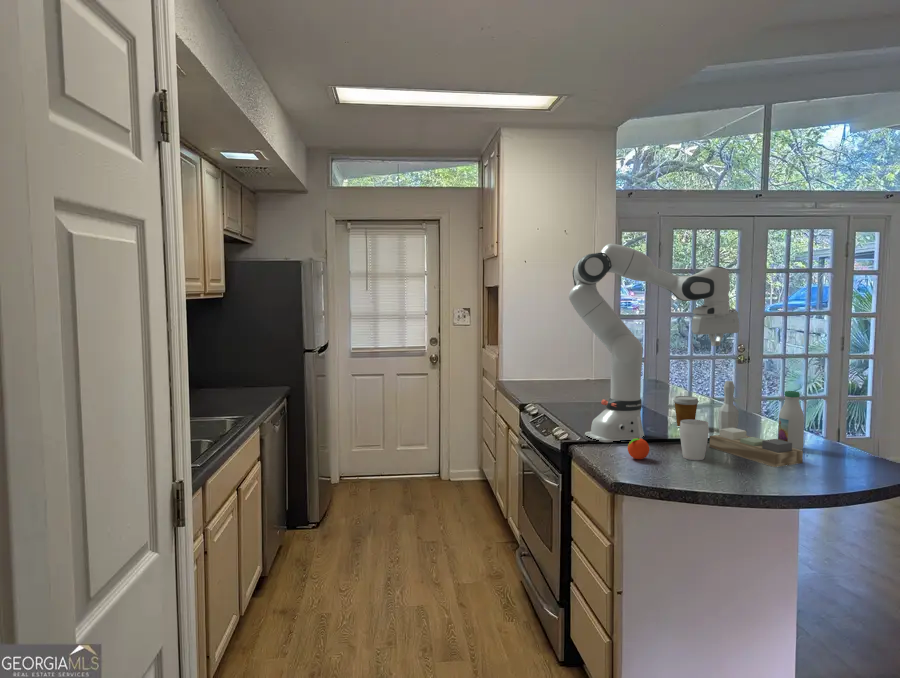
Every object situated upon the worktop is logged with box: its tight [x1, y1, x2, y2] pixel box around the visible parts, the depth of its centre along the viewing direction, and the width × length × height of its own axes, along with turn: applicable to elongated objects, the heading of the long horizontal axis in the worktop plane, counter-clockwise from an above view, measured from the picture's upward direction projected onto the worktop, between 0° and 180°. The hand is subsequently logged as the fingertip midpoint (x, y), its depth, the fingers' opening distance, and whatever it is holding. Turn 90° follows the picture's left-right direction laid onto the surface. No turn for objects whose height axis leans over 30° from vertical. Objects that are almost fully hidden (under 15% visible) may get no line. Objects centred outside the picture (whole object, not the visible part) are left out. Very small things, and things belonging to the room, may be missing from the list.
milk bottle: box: [777, 390, 805, 451], centre depth 214 cm, size 8×8×20 cm
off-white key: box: [719, 428, 748, 440], centre depth 215 cm, size 6×6×4 cm
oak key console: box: [709, 434, 804, 468], centre depth 207 cm, size 12×27×4 cm, turn 21°
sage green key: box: [740, 436, 764, 446], centre depth 207 cm, size 6×6×4 cm
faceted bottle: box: [717, 380, 740, 431], centre depth 225 cm, size 6×6×22 cm
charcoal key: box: [762, 438, 792, 453], centre depth 198 cm, size 6×6×4 cm
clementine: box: [627, 438, 650, 460], centre depth 203 cm, size 8×7×7 cm
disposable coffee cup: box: [672, 395, 699, 427], centre depth 249 cm, size 10×10×12 cm
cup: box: [679, 419, 710, 461], centre depth 204 cm, size 9×9×12 cm
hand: (715, 345), depth 234 cm, fingers closed
